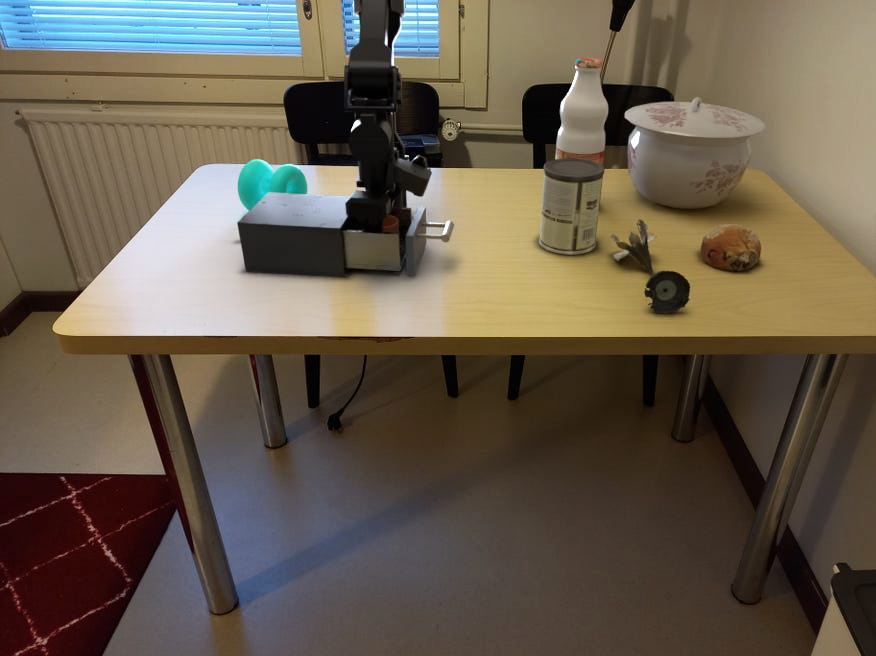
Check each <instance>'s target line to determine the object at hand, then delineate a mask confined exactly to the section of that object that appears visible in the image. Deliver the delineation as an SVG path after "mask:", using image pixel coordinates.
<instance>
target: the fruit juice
mask: <svg viewBox="0 0 876 656" xmlns="http://www.w3.org/2000/svg"><path fill="white" fill-rule="evenodd" d="M574 68H575V75H574V79H573V81H572V84H571V86H570V88H569V90H568V92H567V93H566V95H565V96H564V98H563V99H562V100H561V102H560V108H559V115H560V121H561V124H560V128H559V129H558V132H557V136H556V145H555V158H554V160H556V159H564V158H575V159H584V160H589V161H593V162H596V163H598V164H600V165H602V166H603V164H604V156H605V148H606V130H605V122H606V121H607V118H608V115H609V104H608V101H607V99H606V97H605V96H604V93H603V88H602V84H601V77H600V73H601V71H602V68H603V60H602V59H600V58H596V57H578V58H576V59H575V63H574Z"/></svg>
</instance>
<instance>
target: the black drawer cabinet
mask: <svg viewBox="0 0 876 656" xmlns="http://www.w3.org/2000/svg"><path fill="white" fill-rule="evenodd" d="M350 196H351V195H350ZM350 196H347V195H345V196H344V195H332V194H331V195H329V194H327V195H326V194H309V193H307V194H292V193H272V192H268V193H267V194H266V195H265V196H264V197H263V198H262V199H261V200H260V201H259V202H258V203H257V204H256V205H255V206H254V207H253V208H252V209H251V210H250V211H249V210H248V212H247V213H246V214H245V215H244V216H243V217H242V218H240V219H239V220H238V221H237V223H236V224H237V229H238V236H239V241H240V242H239V243H240V247H241V252H242V258H243V264H244V268H245V272H251V273H265V274H266V273H268V274H282V275H283V274H284V275H285V274H286V275H299V276H301V275H302V276H318V277H334V278H335V277H337V278H345V277H346V276H347V274H348V272H349V270H350V269H351V268H345V263H344V252H343V241H342V229H343V228H344V226H345V225H346V223H347V222H348V220H349V219H350V217H349V216H347V215H346V206H345V203H346V202H347V200H348V199H349V197H350Z"/></svg>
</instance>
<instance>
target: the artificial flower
mask: <svg viewBox="0 0 876 656" xmlns="http://www.w3.org/2000/svg"><path fill="white" fill-rule="evenodd" d="M638 222H639V223H638ZM636 226H637V230H638V233H636V232H633V231H631V230H629V235H628V241H629V243H627V242H625V241H620V240H619V238H618V236H617V235H616V234H615V233H611V234H610V239H612V241H614V242H615V244H616V246H617V247H618V248H619V249H621V250H622V251H620V252H617V253H614V255H613V259H615V260H616V262H619V261H621V259H624V258H625V257H626V256H627V255H629V256H631V257H632V258H634V259H635V260H636V261H637V262H638V263H639V265H640V266H641V267H643V268H644V269H645V270H646V271H648V272H649V274H651V276H650V277H649V278H648V280H647V282H646V284H645V287H644V291H643V293H644V297H645V298H650V300H652V301H651V302H649V303H648V304H647V306H650V307H649V309H651V310H653V311H654V312H656V313H657V314H662V315H668V314H670V313H671V312H677V311H680V310H681V309H685V308H686V305H687V304H688V303H689V301H690V300H691V299H690V298H689V296H690V292H691V284H690V282H689V280H688V279H687V278H686V277H685V276H684V275H683V274H682V273H679V272H677V271H673V270H660V271H657V272H656V273H654V269H653V264H652V262H653V261H652V257H651V253H650V250H649V248H650V247H649V244H650V243H651V242H652V241H653V240H654V239H655V238H657V234H651V236H650V237H649V234H648V228H649V227H648V224H646V222H645V221H644V220H642V219H639V220H637V221H636ZM639 227H640V228H639ZM647 301H648V300H647V299H646V300H645V302H647Z"/></svg>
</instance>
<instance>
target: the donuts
mask: <svg viewBox="0 0 876 656" xmlns="http://www.w3.org/2000/svg"><path fill="white" fill-rule="evenodd" d="M268 192H272V193H292V194H308V182H307V178H306V176H305V173H304V172H303V170H302V169H301V167H299V166H297V165H295V164H292V163H286V164H282V165H281V166H278V168H277V169H276V170H274V169H273V168H272V166H271V165H270V164H269V163H268V162H266V161H265V160H262V159H257V158H256V159H255V158H254V159H251V160H250V161H248V162H246V163H245V164H244V165H243V167H242V168H241V170H240V172H239V174H238V179H237V194H238V198H239V200H240V202H241V204H242V206H243V207H244V208H245V209H246V210H248V212H249V211H250V210H251V209H252V208H253V207H254V206H255V205H256V204H257V203H258V202H259V201H260V200H261V199H262V198H263V197H264V196H265V195H266V194H267V193H268Z"/></svg>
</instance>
